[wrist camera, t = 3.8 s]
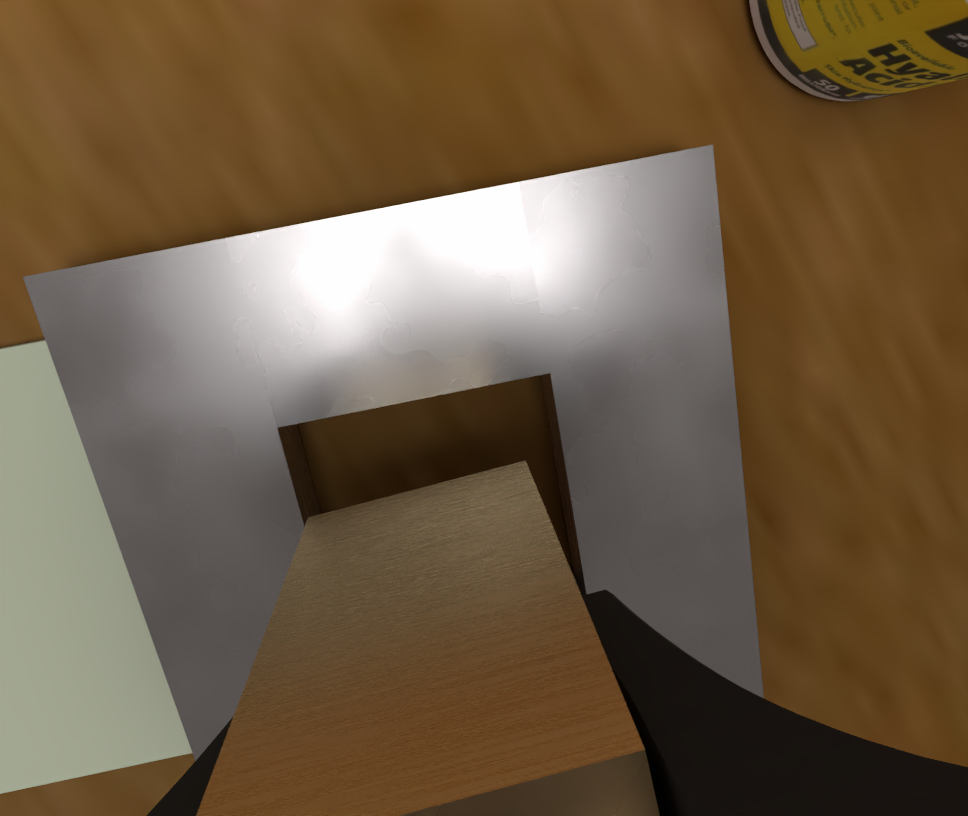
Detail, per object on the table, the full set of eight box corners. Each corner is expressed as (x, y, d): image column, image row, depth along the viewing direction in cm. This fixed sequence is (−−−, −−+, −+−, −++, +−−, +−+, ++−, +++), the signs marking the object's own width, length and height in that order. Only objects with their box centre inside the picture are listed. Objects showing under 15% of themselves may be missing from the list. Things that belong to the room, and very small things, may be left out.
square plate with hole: (735, 672, 22) (765, 717, 20) (239, 778, 21) (221, 834, 19) (681, 151, 18) (712, 144, 16) (67, 269, 17) (23, 276, 15)
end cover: (571, 649, 16) (742, 1149, 7) (371, 702, 15) (311, 1268, 7) (525, 460, 14) (666, 801, 6) (308, 517, 14) (148, 940, 6)
